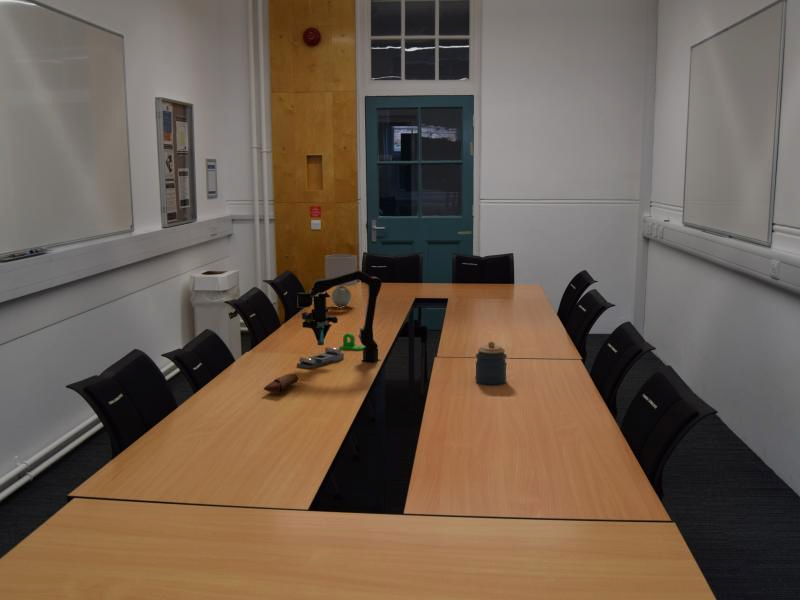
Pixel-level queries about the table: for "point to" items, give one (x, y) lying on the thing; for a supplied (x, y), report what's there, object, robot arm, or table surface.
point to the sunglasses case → (281, 383)
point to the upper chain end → (329, 355)
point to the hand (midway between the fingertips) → (320, 340)
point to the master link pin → (321, 341)
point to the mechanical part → (350, 343)
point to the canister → (491, 365)
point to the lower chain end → (311, 363)
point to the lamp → (337, 267)
